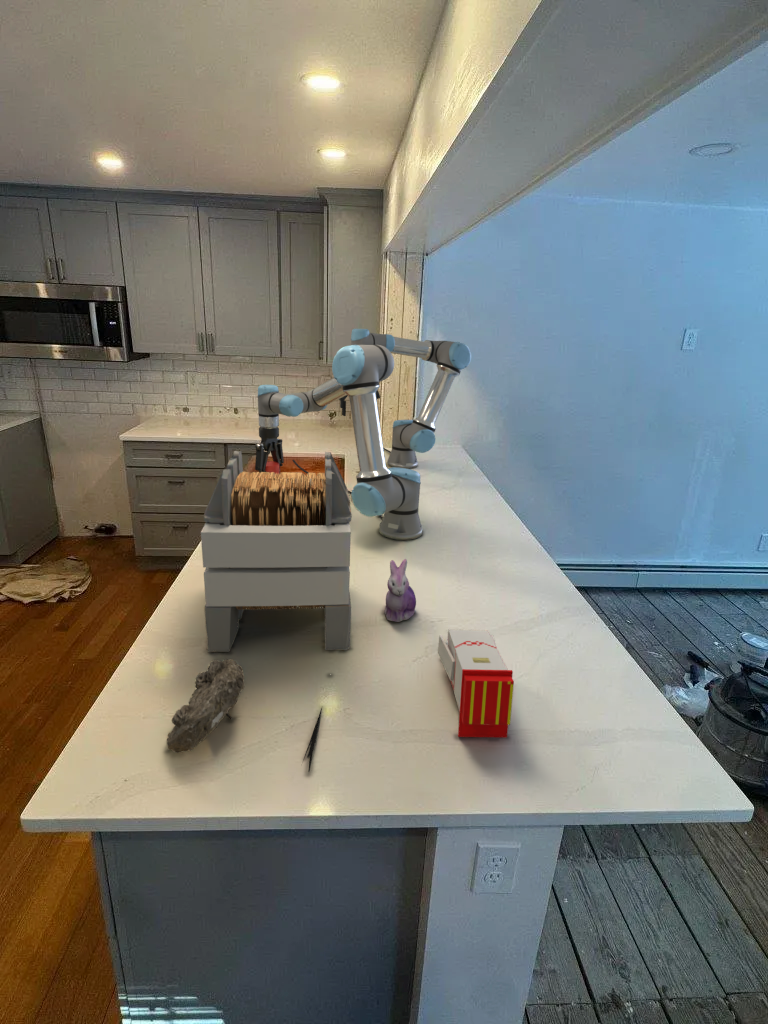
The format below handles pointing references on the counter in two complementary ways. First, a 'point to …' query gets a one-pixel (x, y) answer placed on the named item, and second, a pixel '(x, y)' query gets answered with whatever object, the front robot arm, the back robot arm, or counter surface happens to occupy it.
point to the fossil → (206, 705)
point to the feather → (313, 740)
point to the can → (272, 467)
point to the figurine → (399, 594)
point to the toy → (478, 682)
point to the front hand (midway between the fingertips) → (270, 484)
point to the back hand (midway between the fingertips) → (358, 415)
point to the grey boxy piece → (277, 549)
